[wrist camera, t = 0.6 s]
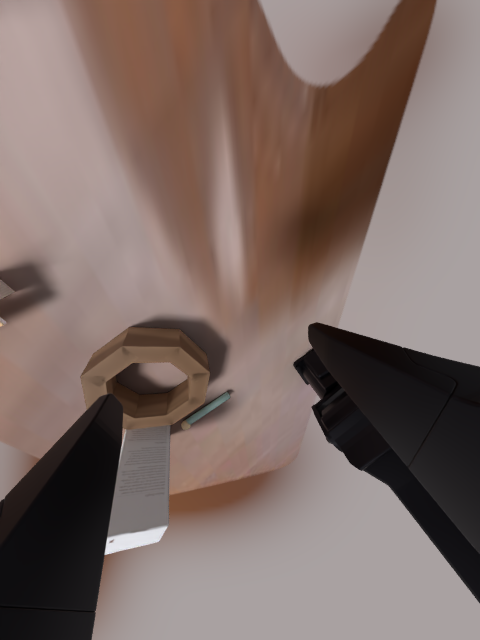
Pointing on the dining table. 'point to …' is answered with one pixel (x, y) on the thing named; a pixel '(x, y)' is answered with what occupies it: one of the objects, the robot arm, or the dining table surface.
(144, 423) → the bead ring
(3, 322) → the architectural model
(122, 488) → the skincare box
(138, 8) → the dining table surface
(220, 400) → the teal thin rod
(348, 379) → the robot arm
